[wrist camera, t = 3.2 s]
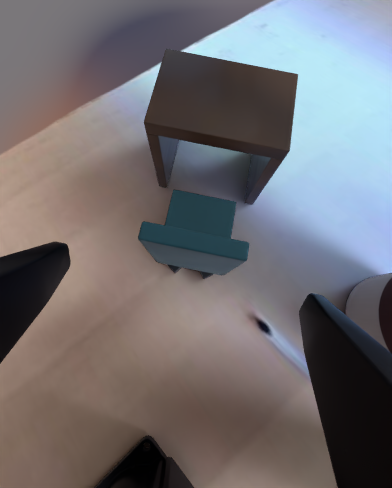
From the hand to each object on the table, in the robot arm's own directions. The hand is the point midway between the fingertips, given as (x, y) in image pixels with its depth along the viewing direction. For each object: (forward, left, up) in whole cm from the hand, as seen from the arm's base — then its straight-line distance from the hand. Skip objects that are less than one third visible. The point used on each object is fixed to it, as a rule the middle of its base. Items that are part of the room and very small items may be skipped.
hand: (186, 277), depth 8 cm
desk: (+9, +7, -11) cm, 16 cm away
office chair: (+3, +2, -11) cm, 12 cm away
